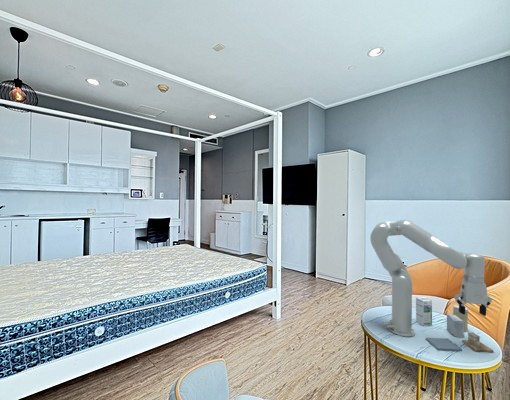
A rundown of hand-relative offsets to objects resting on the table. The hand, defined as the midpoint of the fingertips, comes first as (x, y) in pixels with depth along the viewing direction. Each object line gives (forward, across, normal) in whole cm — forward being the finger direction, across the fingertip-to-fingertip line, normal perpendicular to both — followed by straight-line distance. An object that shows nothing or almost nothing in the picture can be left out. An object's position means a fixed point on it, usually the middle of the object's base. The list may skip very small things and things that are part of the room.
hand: (472, 314), depth 128 cm
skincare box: (+16, +8, +18) cm, 26 cm away
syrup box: (+16, -9, +24) cm, 30 cm away
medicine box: (+16, +1, +12) cm, 20 cm away
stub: (+16, +2, 0) cm, 16 cm away
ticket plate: (+16, -13, 0) cm, 21 cm away
